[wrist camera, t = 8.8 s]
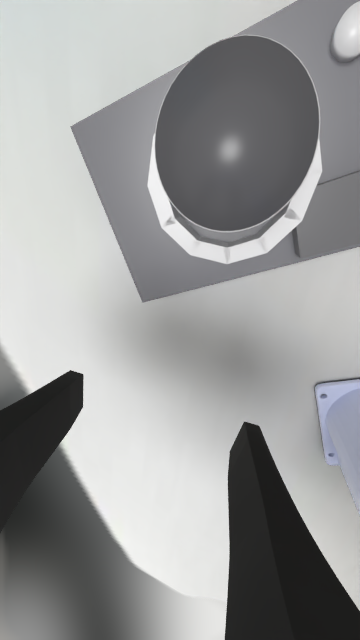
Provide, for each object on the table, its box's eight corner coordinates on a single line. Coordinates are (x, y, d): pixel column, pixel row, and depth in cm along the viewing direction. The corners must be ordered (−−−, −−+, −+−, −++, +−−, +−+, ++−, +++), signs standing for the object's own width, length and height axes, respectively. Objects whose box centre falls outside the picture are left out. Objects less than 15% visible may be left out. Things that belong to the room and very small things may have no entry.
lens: (300, 130, 11) (361, 66, 6) (255, 231, 13) (269, 253, 8) (205, 97, 11) (180, 5, 6) (176, 202, 13) (138, 204, 8)
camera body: (365, 230, 15) (414, 242, 11) (155, 287, 19) (134, 311, 15) (357, 5, 11) (428, -103, 7) (98, 138, 15) (51, 118, 11)
